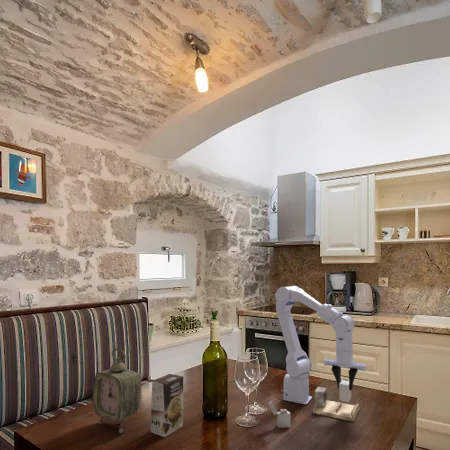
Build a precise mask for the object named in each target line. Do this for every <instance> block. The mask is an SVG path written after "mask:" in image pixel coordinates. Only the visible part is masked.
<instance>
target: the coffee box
mask: <svg viewBox="0 0 450 450" xmlns="http://www.w3.org/2000/svg"><path fill="white" fill-rule="evenodd" d="M150 410H151V411H150V413H151V414H150V433H152V434H154V435H158V436H160V437H163V438H165V437H168V436H169V435H172V434H173V433H174V432H176V431H177V430H179V429H181V428H182V427H183V426H184V425H183V423H184V376H182V375H178V374H171V373H168V374H166V375H163V376H161V377H158V378H156V379H154V380H151V409H150Z"/></svg>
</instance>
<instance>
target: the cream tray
mask: <svg viewBox="0 0 450 450" xmlns="http://www.w3.org/2000/svg"><path fill="white" fill-rule="evenodd" d="M314 401H315V403H314V408H313V409H312V413H313V414H315V413H316V414H315V415H320V414H321V415H320V416H325V417H330V418H334V419H340V420H344V421H349V422H355V420H356V418H357V415H358V413H359V410H360V404H359V403H358V402H357V403H356V404H349V403H343V401H342V402H341V401H340V402H339V401H334V400H333V401H332V400H328V390H327V388H326V387H323V386H317V387H316V389H315V391H314Z"/></svg>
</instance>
